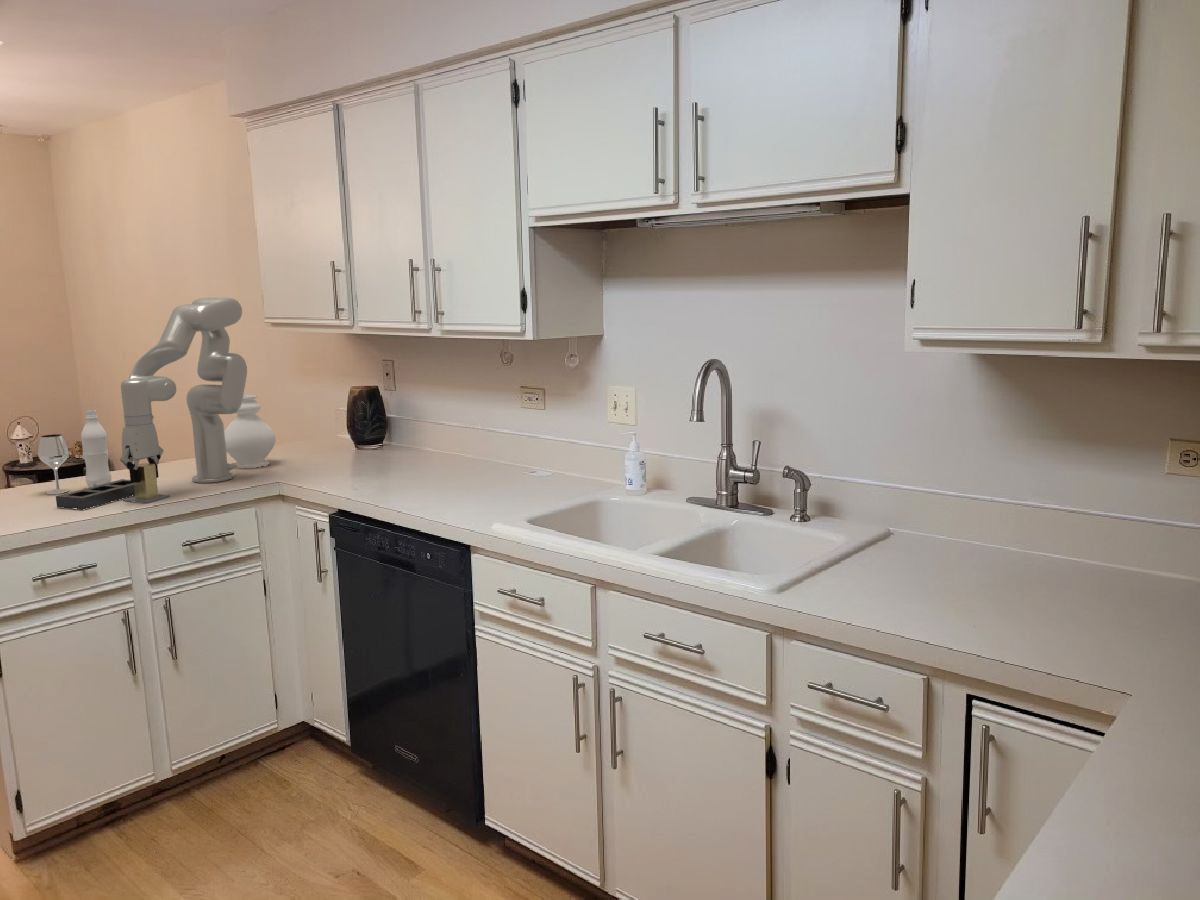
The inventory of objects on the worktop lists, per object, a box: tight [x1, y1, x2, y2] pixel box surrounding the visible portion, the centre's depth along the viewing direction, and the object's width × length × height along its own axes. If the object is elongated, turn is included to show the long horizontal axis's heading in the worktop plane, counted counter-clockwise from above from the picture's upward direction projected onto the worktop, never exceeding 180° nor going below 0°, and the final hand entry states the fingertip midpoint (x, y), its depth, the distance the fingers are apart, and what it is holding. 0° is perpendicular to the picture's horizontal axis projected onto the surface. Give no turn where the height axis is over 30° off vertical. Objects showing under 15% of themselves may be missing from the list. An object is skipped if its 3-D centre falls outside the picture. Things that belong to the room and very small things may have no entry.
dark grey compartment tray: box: [55, 479, 135, 510], centre depth 268 cm, size 24×10×4 cm, turn 163°
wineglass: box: [37, 433, 70, 495], centre depth 277 cm, size 8×8×18 cm
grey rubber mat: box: [122, 493, 171, 504], centre depth 268 cm, size 9×9×1 cm
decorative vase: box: [224, 394, 276, 469], centre depth 317 cm, size 18×18×25 cm
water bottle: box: [80, 409, 112, 488], centre depth 283 cm, size 7×7×25 cm
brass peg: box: [134, 462, 159, 499], centre depth 267 cm, size 4×4×10 cm
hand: (144, 479), depth 267 cm, fingers open, 6 cm apart
